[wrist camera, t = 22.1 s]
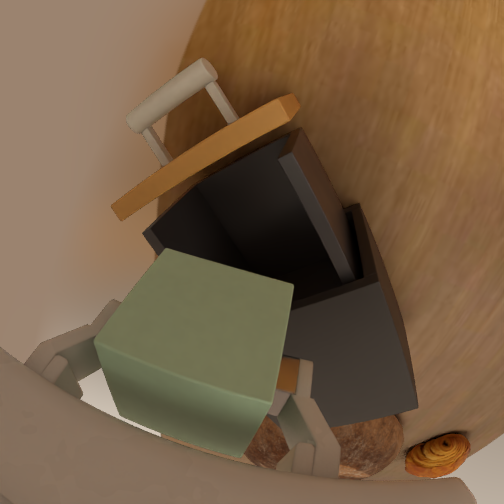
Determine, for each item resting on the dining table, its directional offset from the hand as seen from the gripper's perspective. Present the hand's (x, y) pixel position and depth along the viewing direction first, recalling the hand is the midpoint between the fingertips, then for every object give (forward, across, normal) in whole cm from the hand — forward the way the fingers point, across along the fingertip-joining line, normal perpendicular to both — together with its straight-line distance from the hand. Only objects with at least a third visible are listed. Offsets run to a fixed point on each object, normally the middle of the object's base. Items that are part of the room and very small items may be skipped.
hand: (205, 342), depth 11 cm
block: (+2, 0, 0) cm, 2 cm away
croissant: (+17, -46, +40) cm, 63 cm away
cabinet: (+16, -7, +8) cm, 20 cm away
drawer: (+15, +1, -1) cm, 15 cm away
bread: (+16, -18, +36) cm, 44 cm away
